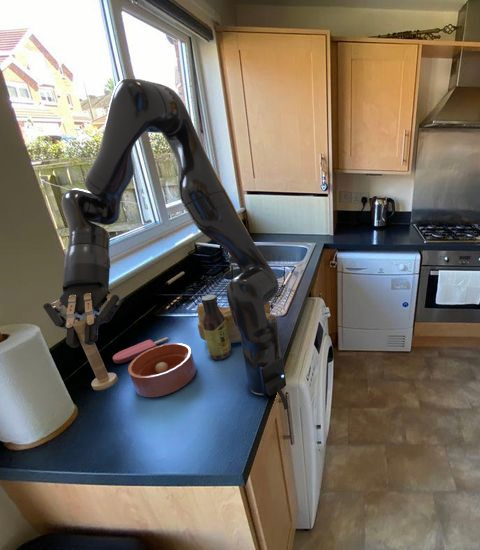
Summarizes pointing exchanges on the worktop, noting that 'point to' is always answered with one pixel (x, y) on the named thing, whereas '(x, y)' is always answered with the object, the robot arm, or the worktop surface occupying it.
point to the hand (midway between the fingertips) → (81, 345)
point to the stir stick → (95, 360)
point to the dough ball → (161, 367)
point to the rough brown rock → (231, 327)
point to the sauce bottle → (215, 329)
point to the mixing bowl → (168, 381)
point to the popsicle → (135, 351)
